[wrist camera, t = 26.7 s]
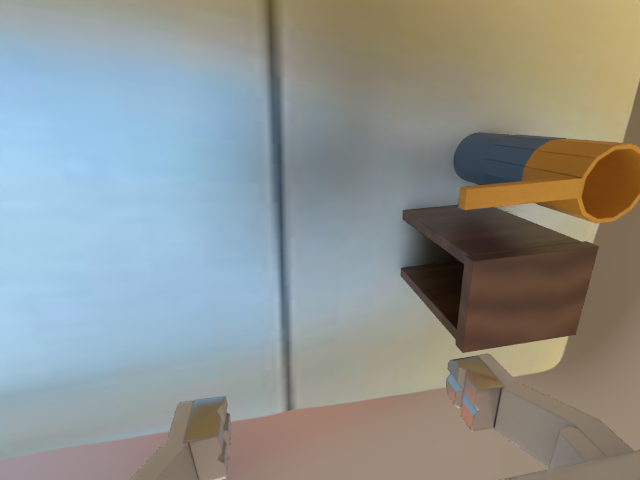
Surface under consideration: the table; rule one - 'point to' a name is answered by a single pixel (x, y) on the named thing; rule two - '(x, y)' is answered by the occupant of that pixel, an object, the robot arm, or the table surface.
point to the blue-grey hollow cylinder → (495, 157)
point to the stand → (500, 277)
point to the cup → (569, 181)
